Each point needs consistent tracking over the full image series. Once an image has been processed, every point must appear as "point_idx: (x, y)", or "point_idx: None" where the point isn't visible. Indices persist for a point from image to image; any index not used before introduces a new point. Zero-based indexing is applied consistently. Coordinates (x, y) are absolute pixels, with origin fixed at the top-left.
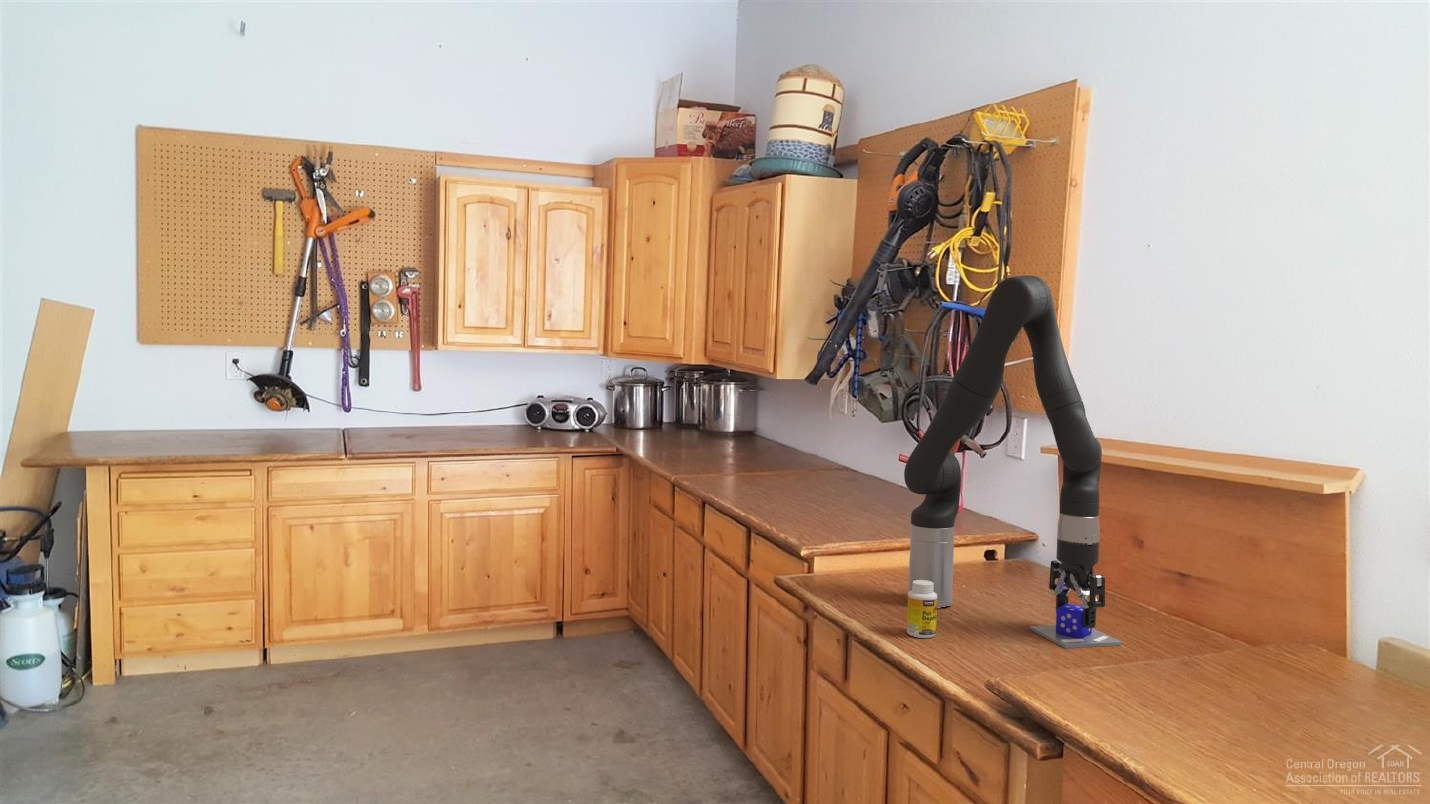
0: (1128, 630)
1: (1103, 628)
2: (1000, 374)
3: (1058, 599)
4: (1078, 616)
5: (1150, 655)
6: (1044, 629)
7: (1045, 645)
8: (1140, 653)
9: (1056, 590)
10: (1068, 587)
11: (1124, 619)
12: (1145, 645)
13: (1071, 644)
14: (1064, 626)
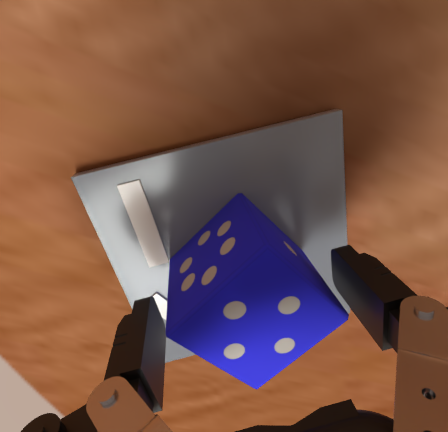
0: (302, 395)
1: (324, 350)
2: None
3: (375, 293)
4: (174, 311)
5: (71, 394)
6: (294, 163)
7: (103, 99)
8: (84, 378)
9: (431, 322)
10: (334, 415)
11: (391, 405)
12: (168, 402)
13: (88, 206)
14: (218, 232)
